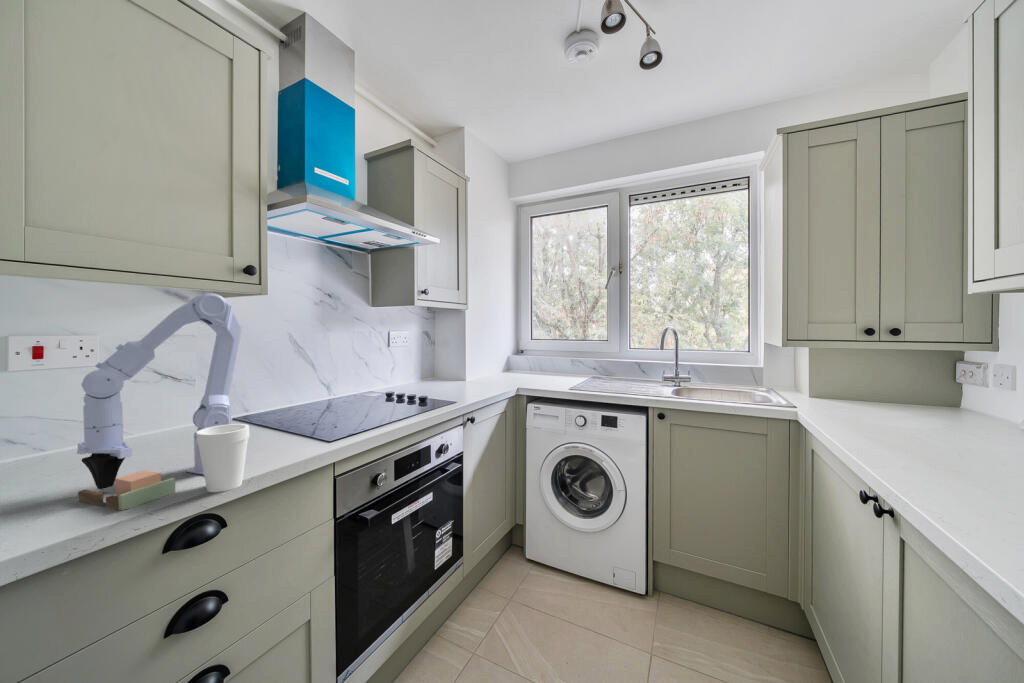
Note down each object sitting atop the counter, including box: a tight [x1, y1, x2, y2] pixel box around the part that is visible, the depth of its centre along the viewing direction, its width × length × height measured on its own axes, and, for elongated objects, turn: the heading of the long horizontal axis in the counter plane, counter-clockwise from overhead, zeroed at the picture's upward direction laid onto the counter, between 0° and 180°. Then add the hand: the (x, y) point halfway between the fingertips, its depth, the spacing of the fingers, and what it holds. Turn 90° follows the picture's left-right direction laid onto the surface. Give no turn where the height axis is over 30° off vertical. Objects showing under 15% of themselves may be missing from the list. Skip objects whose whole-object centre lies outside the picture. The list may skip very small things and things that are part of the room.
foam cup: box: [196, 423, 250, 493], centre depth 85 cm, size 10×9×13 cm
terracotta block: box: [114, 469, 162, 497], centre depth 79 cm, size 5×5×5 cm
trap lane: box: [77, 477, 176, 511], centre depth 80 cm, size 9×14×3 cm, turn 72°
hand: (105, 487), depth 82 cm, fingers closed
